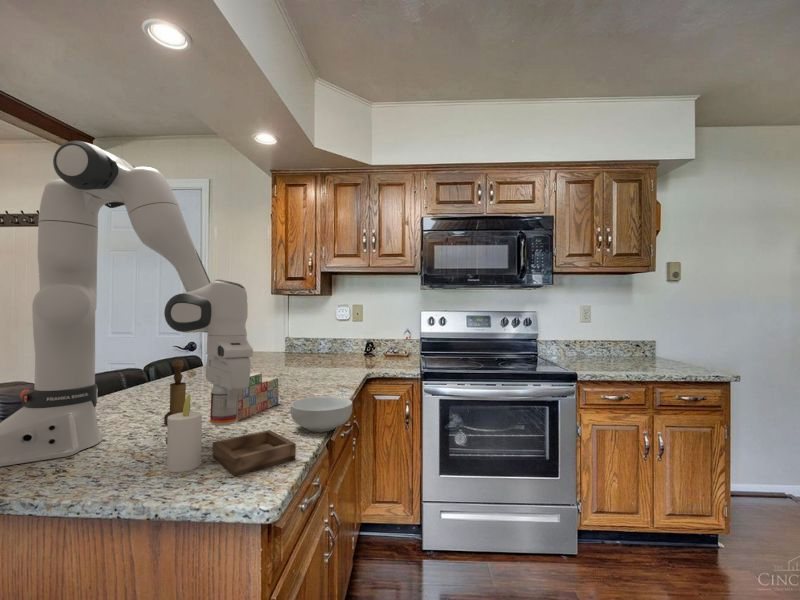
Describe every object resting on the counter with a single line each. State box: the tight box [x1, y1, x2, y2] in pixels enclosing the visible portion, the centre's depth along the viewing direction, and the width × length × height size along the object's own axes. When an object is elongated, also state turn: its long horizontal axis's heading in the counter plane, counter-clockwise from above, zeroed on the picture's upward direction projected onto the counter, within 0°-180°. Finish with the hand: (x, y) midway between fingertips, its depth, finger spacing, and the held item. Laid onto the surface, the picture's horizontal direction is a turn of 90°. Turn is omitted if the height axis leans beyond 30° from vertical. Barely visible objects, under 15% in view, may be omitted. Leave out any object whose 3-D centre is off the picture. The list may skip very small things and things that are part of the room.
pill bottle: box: [209, 376, 239, 427], centre depth 96 cm, size 6×6×11 cm
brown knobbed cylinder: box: [163, 359, 187, 426], centre depth 115 cm, size 7×6×18 cm
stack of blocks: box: [238, 372, 280, 421], centre depth 126 cm, size 21×6×12 cm, turn 163°
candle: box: [165, 393, 203, 473], centre depth 83 cm, size 6×6×15 cm
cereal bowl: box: [290, 395, 353, 433], centre depth 109 cm, size 17×17×7 cm
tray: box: [212, 429, 297, 478], centre depth 87 cm, size 13×13×4 cm
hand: (224, 404), depth 96 cm, fingers closed on pill bottle, 6 cm apart
